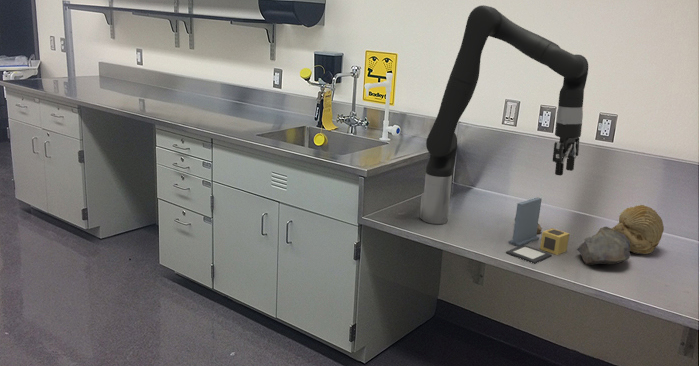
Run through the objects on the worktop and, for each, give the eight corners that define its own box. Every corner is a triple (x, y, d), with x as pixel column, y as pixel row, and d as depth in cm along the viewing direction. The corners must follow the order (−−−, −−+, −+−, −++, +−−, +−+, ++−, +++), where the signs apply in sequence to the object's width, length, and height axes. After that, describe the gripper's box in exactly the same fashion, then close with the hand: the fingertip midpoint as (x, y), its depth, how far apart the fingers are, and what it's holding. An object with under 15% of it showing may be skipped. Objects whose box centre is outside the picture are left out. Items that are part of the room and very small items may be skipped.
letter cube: (539, 249, 187) (542, 231, 185) (549, 245, 191) (552, 227, 189) (556, 255, 182) (559, 236, 181) (566, 251, 186) (569, 233, 185)
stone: (588, 214, 187) (639, 224, 179) (584, 243, 191) (634, 254, 183) (572, 236, 173) (626, 249, 165) (568, 267, 177) (621, 280, 169)
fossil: (594, 242, 195) (602, 199, 191) (633, 237, 202) (641, 196, 198) (630, 259, 182) (639, 214, 178) (670, 254, 188) (680, 210, 184)
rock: (525, 235, 199) (527, 223, 198) (510, 224, 210) (511, 212, 208) (545, 234, 201) (547, 222, 200) (529, 223, 211) (531, 211, 210)
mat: (505, 253, 182) (506, 251, 182) (523, 246, 188) (523, 244, 188) (534, 263, 175) (534, 261, 174) (551, 256, 181) (551, 254, 181)
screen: (508, 243, 190) (514, 202, 187) (528, 235, 198) (534, 196, 195) (519, 246, 188) (525, 205, 184) (539, 239, 195) (544, 199, 192)
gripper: (566, 117, 186) (561, 167, 190) (547, 122, 176) (543, 174, 180) (589, 119, 181) (584, 170, 185) (572, 125, 171) (567, 178, 175)
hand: (564, 172), depth 182 cm, fingers open, 8 cm apart
